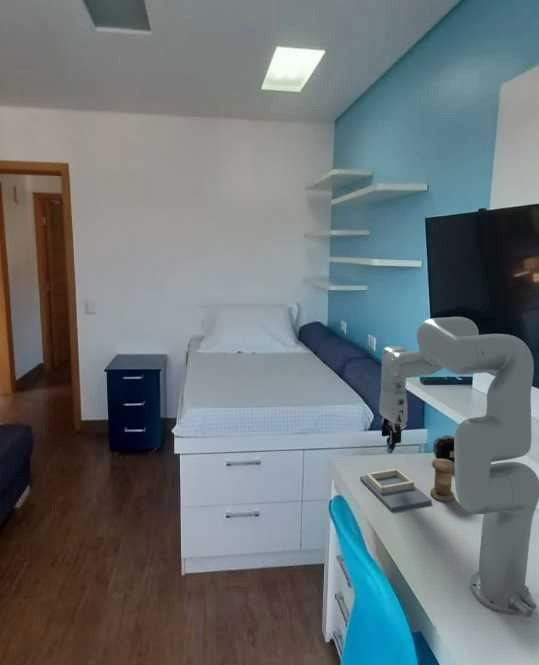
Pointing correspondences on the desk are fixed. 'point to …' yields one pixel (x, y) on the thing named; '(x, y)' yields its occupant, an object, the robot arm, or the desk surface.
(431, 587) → the desk surface
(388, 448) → the push button
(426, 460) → the desk surface
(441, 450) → the cpu cooler
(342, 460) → the desk surface
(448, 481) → the wooden cabinet knob
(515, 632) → the desk surface
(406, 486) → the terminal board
